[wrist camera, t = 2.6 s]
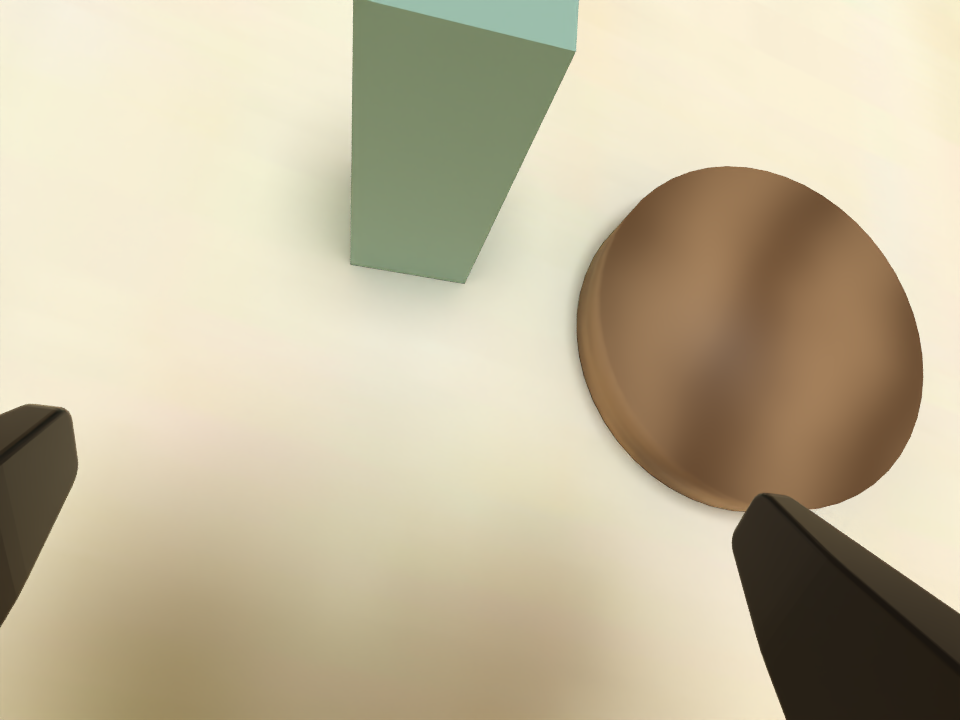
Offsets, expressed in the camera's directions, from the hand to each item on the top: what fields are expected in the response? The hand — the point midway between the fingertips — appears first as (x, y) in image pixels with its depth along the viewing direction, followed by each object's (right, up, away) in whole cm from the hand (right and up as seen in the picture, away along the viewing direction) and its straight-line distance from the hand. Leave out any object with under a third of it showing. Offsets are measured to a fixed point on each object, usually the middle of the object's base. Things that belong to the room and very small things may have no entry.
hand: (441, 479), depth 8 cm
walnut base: (+11, +2, +18) cm, 21 cm away
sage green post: (-2, +7, +16) cm, 18 cm away
